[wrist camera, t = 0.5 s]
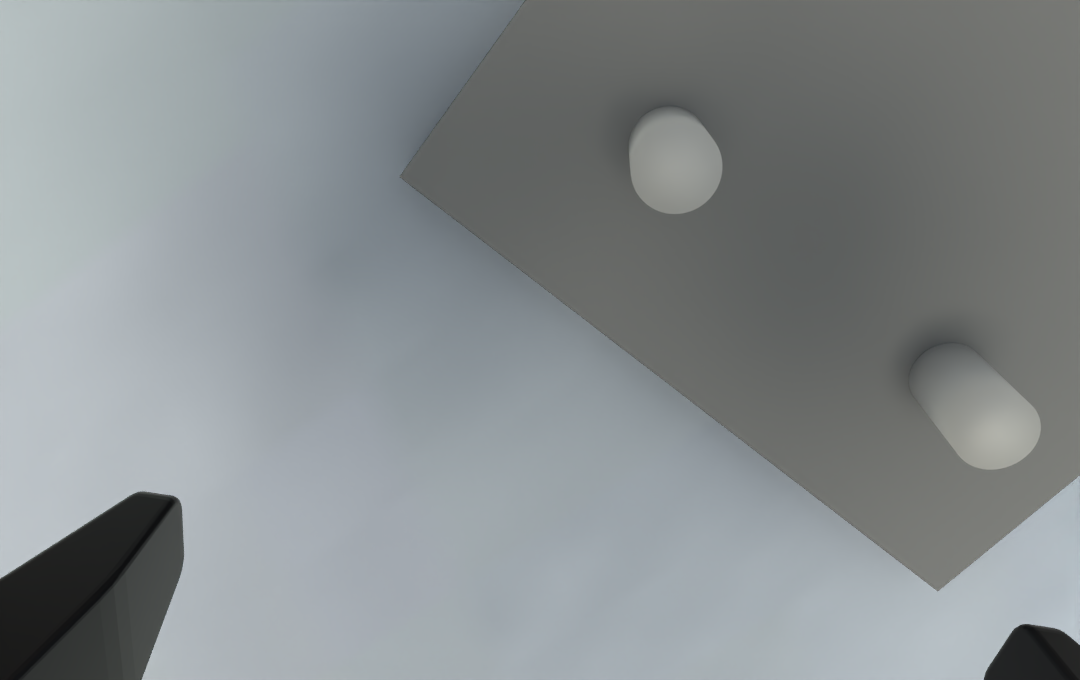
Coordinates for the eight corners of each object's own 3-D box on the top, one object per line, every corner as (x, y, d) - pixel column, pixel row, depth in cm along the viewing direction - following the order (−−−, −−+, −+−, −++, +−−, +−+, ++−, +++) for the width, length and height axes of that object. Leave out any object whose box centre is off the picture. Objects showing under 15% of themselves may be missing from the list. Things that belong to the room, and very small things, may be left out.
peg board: (923, 564, 25) (980, 669, 21) (410, 167, 22) (365, 203, 18) (1553, 37, 19) (1799, 45, 15) (963, -604, 16) (1076, -802, 12)
